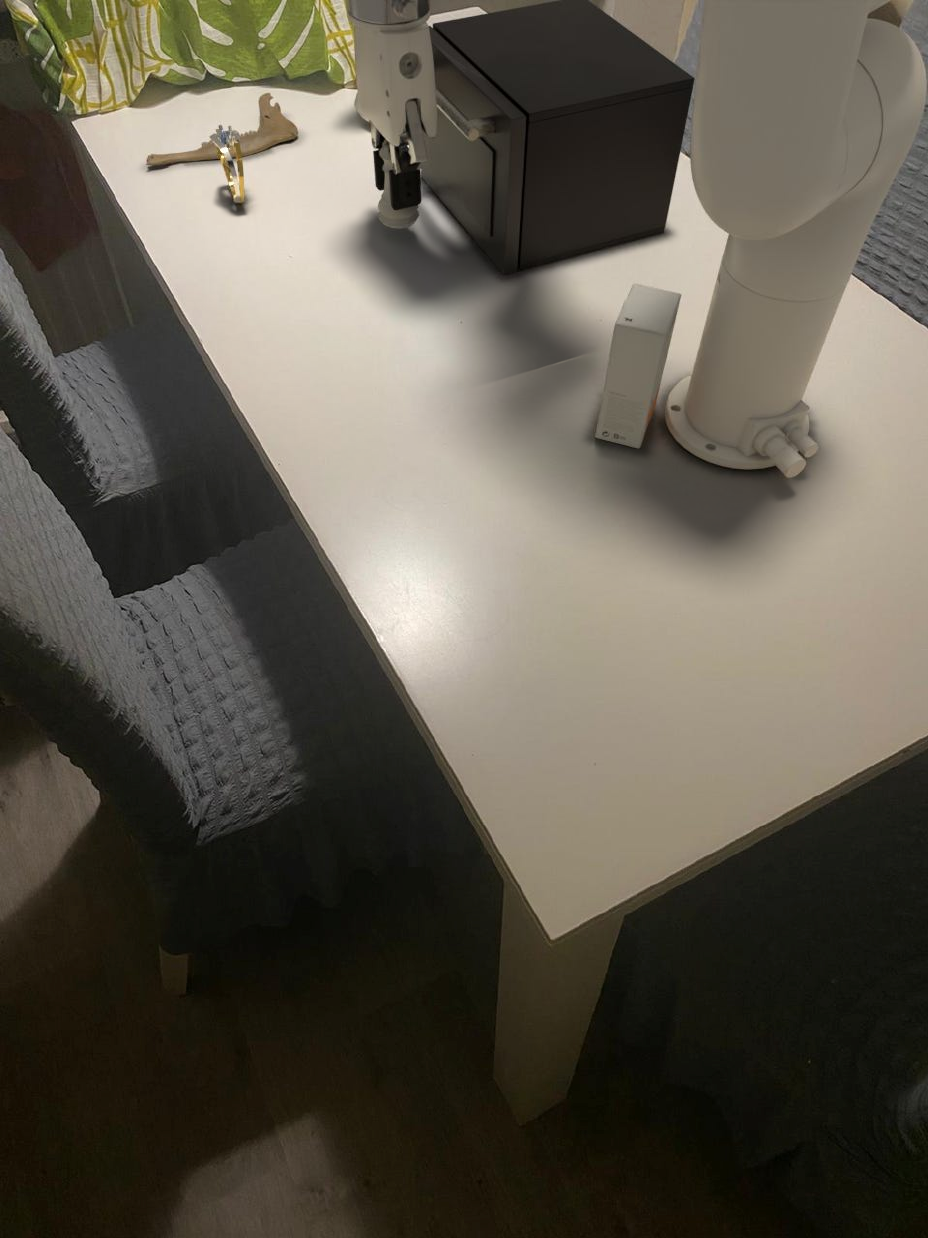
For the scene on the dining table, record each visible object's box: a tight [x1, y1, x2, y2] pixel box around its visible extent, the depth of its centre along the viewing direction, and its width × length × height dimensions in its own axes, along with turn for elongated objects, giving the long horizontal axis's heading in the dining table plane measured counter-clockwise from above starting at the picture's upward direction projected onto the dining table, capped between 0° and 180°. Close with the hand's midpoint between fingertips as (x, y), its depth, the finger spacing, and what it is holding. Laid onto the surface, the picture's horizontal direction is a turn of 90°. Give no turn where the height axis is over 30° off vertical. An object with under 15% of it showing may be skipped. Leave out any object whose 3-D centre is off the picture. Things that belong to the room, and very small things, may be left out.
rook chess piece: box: [377, 139, 420, 229], centre depth 93 cm, size 4×4×8 cm
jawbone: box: [145, 92, 299, 166], centre depth 109 cm, size 9×20×2 cm, turn 140°
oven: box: [432, 0, 696, 272], centre depth 97 cm, size 18×22×16 cm
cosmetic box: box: [594, 283, 682, 449], centre depth 76 cm, size 6×4×12 cm
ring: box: [208, 124, 245, 204], centre depth 100 cm, size 7×3×8 cm, turn 19°
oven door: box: [420, 25, 526, 276], centre depth 94 cm, size 5×22×16 cm, turn 25°
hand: (398, 194), depth 94 cm, fingers closed on rook chess piece, 3 cm apart
